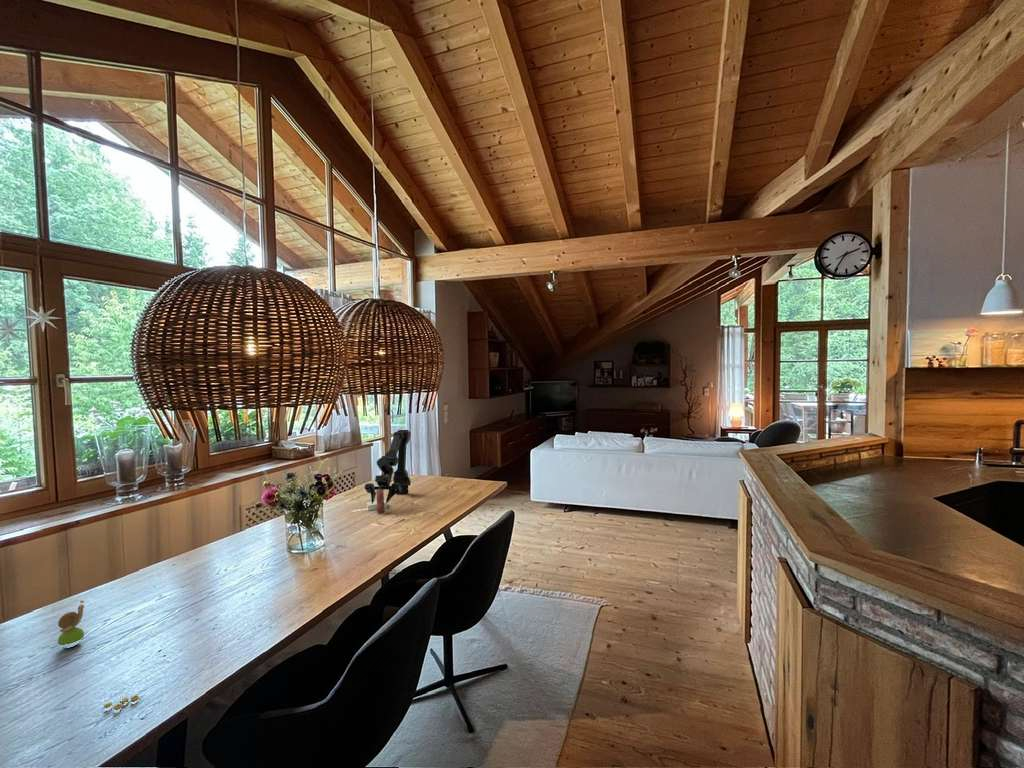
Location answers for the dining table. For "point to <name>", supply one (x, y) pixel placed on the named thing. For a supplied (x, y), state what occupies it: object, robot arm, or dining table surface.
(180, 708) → the dining table surface
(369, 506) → the block
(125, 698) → the dice set
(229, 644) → the dining table surface
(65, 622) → the snail figurine
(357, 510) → the subfloor panel
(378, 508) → the joystick
